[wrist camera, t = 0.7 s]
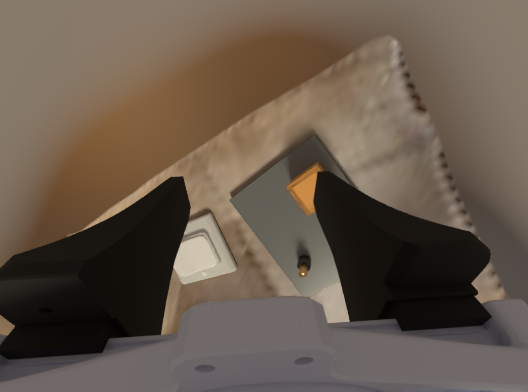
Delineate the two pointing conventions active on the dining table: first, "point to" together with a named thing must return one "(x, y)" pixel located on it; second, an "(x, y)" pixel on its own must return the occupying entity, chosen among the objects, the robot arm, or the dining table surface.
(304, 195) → the orange panelled cube
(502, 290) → the dining table surface
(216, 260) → the light switch
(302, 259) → the wire post
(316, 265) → the board
